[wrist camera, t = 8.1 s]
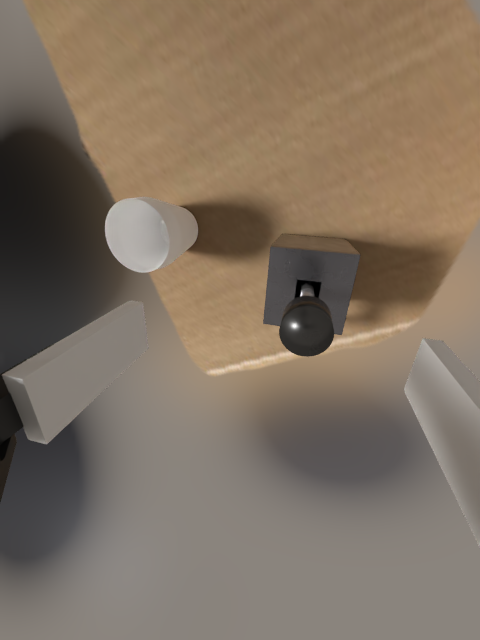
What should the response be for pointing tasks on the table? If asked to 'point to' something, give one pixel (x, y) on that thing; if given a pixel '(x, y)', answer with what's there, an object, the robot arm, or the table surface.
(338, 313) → the grey box with handle
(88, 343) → the robot arm
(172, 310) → the table surface
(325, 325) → the plunger
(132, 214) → the cup
